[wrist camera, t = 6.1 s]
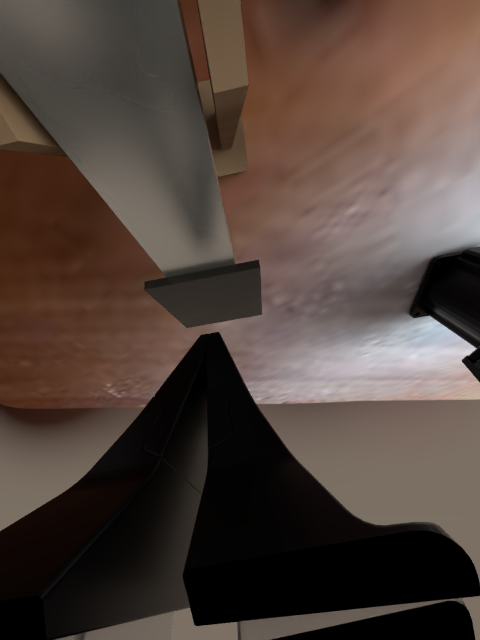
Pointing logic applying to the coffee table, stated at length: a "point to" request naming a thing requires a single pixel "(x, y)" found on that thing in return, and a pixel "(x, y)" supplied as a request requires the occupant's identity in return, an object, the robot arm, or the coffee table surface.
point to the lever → (135, 137)
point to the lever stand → (216, 94)
